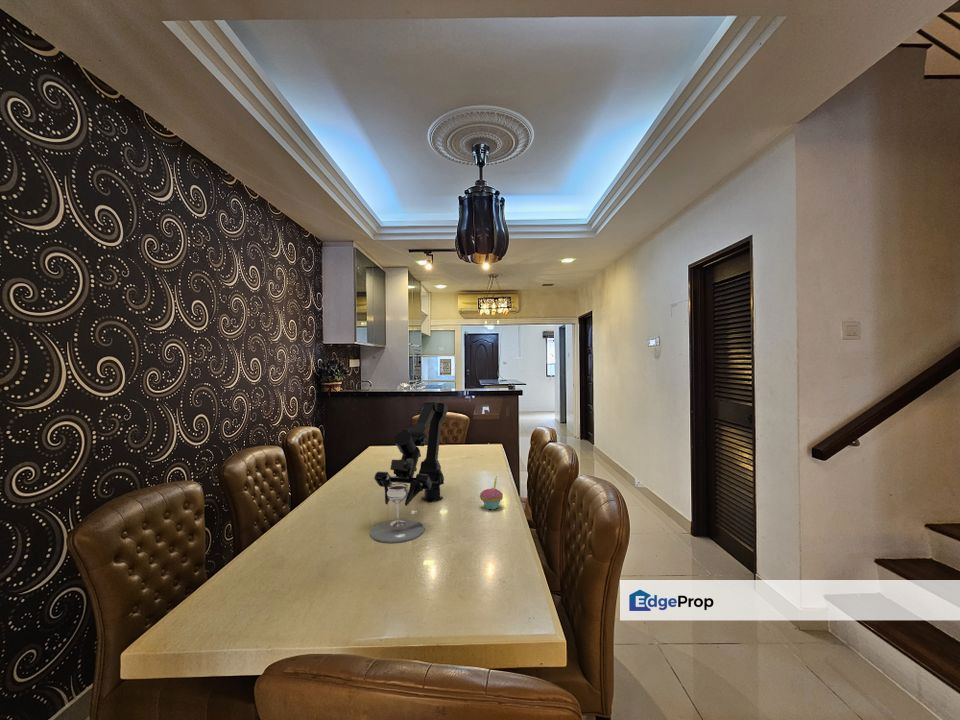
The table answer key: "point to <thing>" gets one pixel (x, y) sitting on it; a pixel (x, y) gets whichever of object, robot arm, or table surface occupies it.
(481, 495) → the cupcake
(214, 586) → the table surface
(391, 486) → the wineglass
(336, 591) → the table surface
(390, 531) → the slate plate
